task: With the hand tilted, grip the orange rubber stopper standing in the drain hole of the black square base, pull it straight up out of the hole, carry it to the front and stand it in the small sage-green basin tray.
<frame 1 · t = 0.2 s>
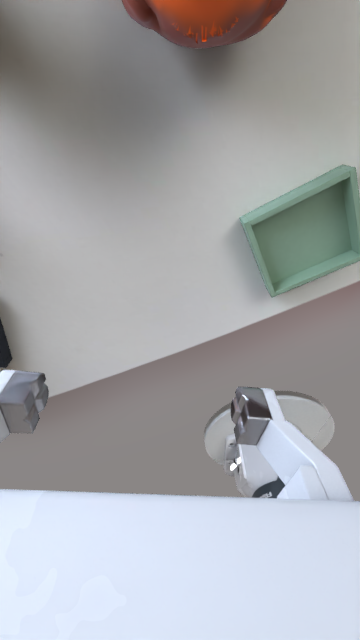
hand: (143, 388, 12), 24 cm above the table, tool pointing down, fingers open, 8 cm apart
basin: (299, 234, 32), on the table
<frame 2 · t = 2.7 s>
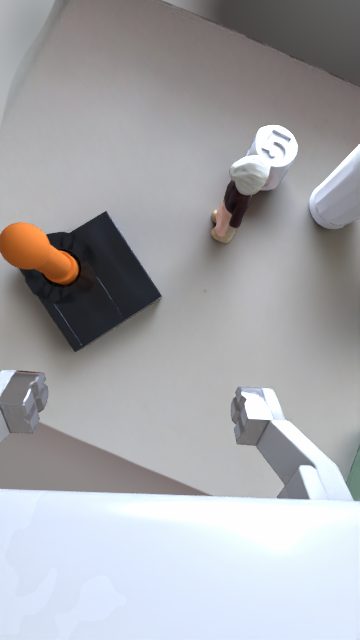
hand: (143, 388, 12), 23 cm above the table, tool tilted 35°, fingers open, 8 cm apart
cup: (330, 206, 37), on the table
grandmother figurine: (221, 222, 35), on the table
die: (259, 172, 36), on the table
plug: (67, 271, 33), resting in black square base
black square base: (94, 283, 34), on the table
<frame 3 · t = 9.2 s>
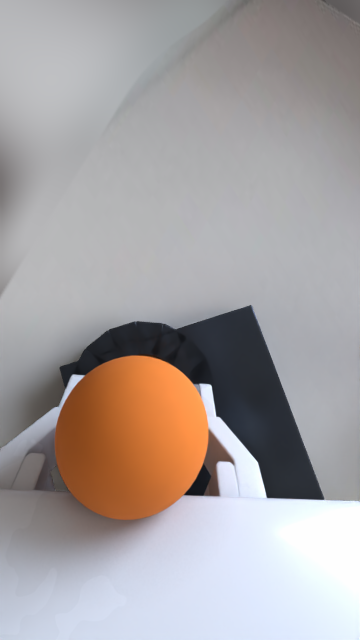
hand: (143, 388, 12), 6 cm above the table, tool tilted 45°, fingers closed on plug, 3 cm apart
plug: (144, 391, 17), resting in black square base, touching gripper
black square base: (188, 426, 17), on the table
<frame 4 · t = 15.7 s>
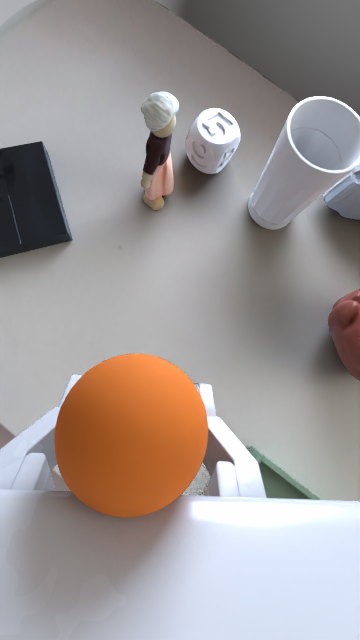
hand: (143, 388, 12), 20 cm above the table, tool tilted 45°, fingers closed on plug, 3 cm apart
cup: (270, 208, 37), on the table
basin: (265, 515, 31), on the table
grandmother figurine: (158, 190, 35), on the table
die: (207, 158, 37), on the table
plug: (144, 390, 17), point 14 cm above the table, touching gripper
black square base: (9, 206, 33), on the table
orange fox figurine: (350, 340, 35), on the table
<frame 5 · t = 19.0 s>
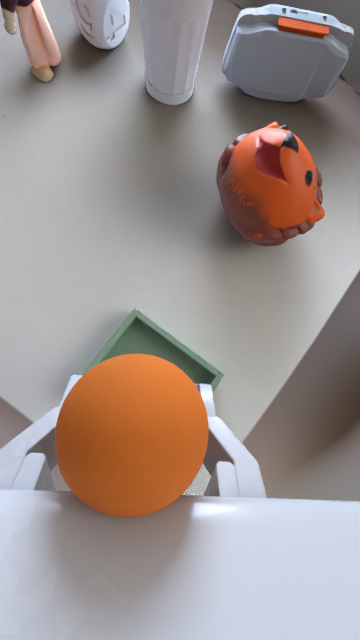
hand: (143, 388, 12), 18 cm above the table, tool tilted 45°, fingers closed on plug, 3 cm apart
cup: (169, 85, 35), on the table
basin: (148, 381, 29), on the table
grandmother figurine: (48, 64, 34), on the table
die: (104, 35, 36), on the table
plug: (144, 390, 17), point 12 cm above the table, touching gripper
orange fox figurine: (251, 215, 34), on the table
gray clasp case: (269, 93, 37), on the table
when the fingers open (6 cm above the table, at t = 22.2 s): plug stays where it is, resting on basin.
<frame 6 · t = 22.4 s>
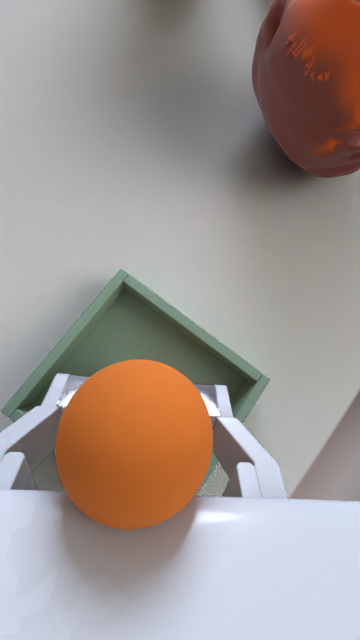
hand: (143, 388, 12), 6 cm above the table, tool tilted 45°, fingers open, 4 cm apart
basin: (144, 390, 18), on the table
plug: (145, 393, 17), point 1 cm above the table, touching basin
orange fox figurine: (298, 141, 23), on the table
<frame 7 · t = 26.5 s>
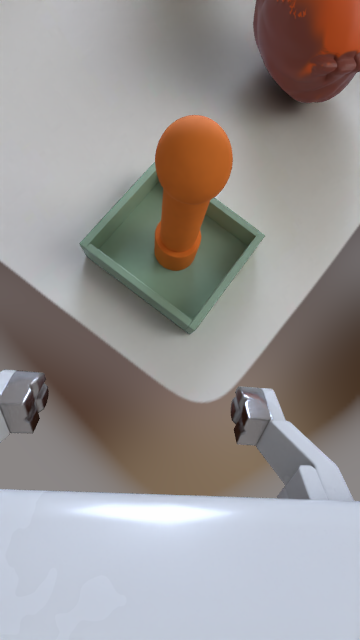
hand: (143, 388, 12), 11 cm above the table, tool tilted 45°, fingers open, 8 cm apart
basin: (173, 252, 24), on the table
plug: (174, 251, 24), resting on basin
orange fox figurine: (289, 82, 29), on the table
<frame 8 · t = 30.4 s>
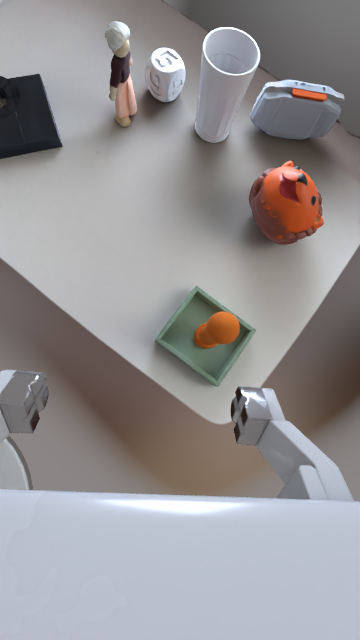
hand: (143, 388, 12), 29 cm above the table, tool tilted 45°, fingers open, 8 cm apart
cup: (211, 128, 49), on the table
basin: (203, 336, 42), on the table
grandmother figurine: (126, 113, 47), on the table
die: (164, 91, 49), on the table
plug: (204, 337, 42), resting on basin
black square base: (16, 122, 45), on the table
orange fox figurine: (271, 222, 47), on the table
gray clasp case: (283, 133, 50), on the table
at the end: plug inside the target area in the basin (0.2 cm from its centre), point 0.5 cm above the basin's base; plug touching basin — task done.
